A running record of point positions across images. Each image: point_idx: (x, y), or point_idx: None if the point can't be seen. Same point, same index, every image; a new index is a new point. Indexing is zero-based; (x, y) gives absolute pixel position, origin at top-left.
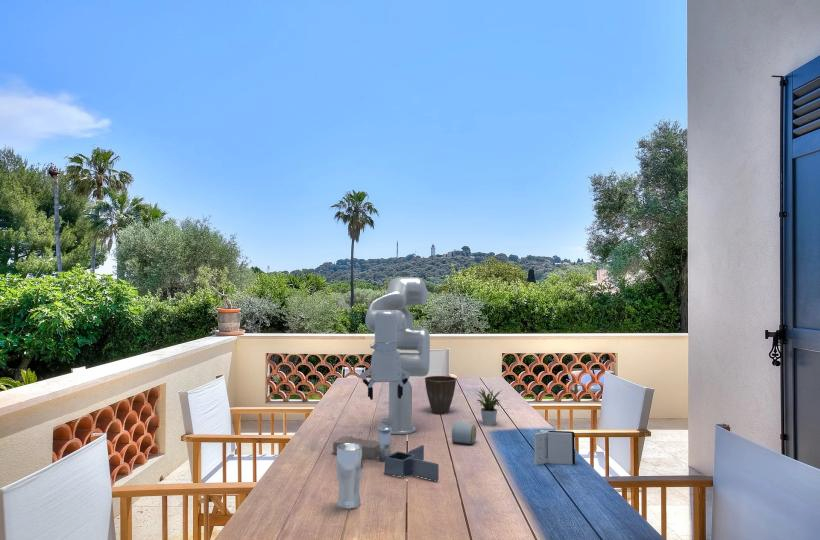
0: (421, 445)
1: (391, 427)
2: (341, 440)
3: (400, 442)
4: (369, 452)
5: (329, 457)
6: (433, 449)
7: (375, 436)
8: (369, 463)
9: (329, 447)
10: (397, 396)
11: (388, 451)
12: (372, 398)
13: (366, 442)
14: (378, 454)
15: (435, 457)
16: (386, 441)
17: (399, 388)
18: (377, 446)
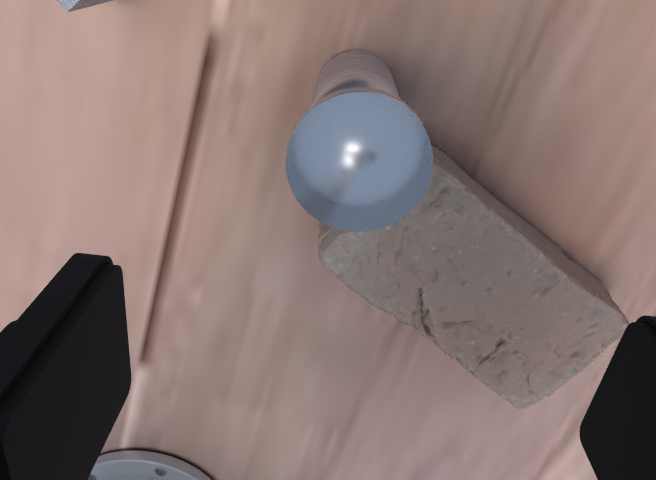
0: (71, 2)
1: (299, 139)
2: (572, 343)
3: (185, 351)
4: (444, 160)
5: (650, 237)
6: (7, 187)
7: (293, 462)
8: (471, 55)
9: (576, 382)
10: (129, 386)
11: (340, 65)
12: (647, 329)
13: (435, 269)
14: None
15: (10, 31)
16: (359, 78)
17: (7, 404)
18: None
